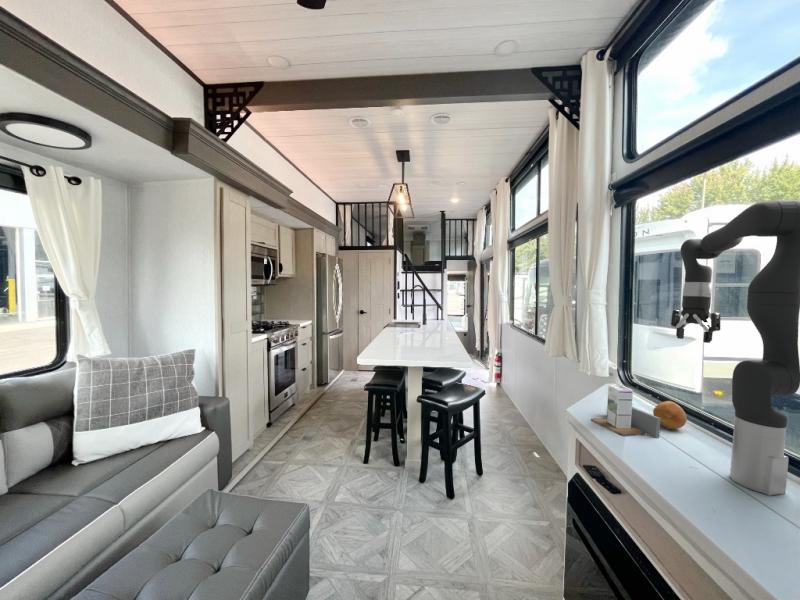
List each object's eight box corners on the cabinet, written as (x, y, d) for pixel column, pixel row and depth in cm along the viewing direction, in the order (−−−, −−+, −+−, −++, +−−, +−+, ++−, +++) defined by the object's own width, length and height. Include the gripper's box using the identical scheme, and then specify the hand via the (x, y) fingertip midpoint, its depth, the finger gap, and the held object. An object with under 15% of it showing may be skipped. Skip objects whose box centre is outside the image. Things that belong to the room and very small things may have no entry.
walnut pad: (645, 434, 116) (645, 432, 116) (623, 436, 114) (623, 434, 114) (611, 418, 130) (611, 417, 130) (590, 420, 128) (590, 418, 128)
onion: (647, 421, 129) (649, 396, 129) (677, 424, 127) (679, 399, 126) (659, 431, 120) (661, 404, 120) (691, 435, 117) (694, 408, 117)
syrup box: (631, 429, 119) (634, 389, 119) (615, 428, 119) (618, 389, 118) (620, 422, 125) (623, 385, 124) (605, 422, 125) (607, 384, 124)
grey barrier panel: (659, 437, 114) (660, 418, 114) (655, 438, 114) (657, 418, 113) (609, 415, 134) (610, 398, 133) (606, 415, 133) (607, 398, 133)
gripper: (667, 294, 123) (664, 337, 123) (712, 295, 109) (708, 344, 109) (683, 295, 124) (679, 337, 125) (728, 296, 110) (724, 344, 111)
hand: (693, 340), depth 117 cm, fingers open, 8 cm apart
